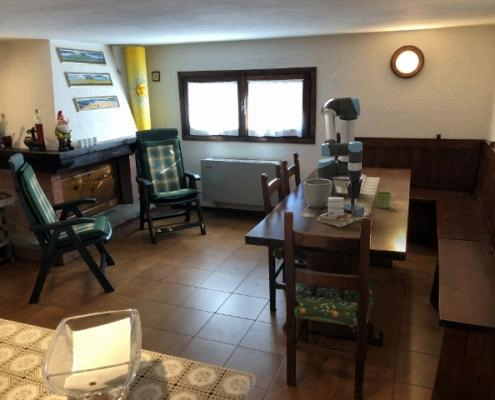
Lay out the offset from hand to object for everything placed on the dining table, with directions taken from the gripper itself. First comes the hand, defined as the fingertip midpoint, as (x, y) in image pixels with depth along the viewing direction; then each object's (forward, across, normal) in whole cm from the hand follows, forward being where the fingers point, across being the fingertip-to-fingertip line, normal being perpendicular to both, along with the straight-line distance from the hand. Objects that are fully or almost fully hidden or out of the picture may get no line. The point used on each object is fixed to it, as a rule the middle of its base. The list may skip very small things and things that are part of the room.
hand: (353, 209), depth 238 cm
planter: (+3, -2, +25) cm, 25 cm away
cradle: (+3, -9, 0) cm, 9 cm away
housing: (+1, -4, 0) cm, 5 cm away
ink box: (+2, -16, 0) cm, 16 cm away
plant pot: (+3, +23, -5) cm, 24 cm away
